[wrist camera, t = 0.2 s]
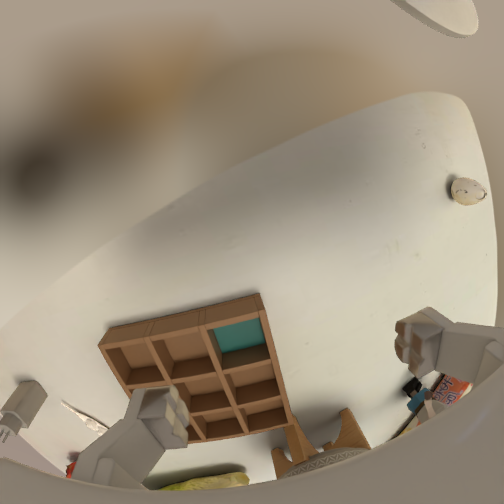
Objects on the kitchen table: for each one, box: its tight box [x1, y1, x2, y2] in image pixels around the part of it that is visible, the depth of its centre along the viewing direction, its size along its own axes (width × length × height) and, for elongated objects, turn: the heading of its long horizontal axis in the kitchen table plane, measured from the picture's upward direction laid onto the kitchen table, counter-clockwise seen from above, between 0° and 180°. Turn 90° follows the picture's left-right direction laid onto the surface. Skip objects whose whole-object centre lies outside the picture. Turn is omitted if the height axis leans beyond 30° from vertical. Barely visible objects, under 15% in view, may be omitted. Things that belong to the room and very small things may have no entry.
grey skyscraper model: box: [0, 381, 47, 443], centre depth 20 cm, size 3×5×12 cm, turn 108°
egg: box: [451, 177, 487, 205], centre depth 22 cm, size 3×3×5 cm
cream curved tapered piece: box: [62, 403, 108, 436], centre depth 28 cm, size 15×4×2 cm, turn 26°
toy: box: [403, 377, 448, 424], centre depth 25 cm, size 9×6×15 cm
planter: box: [271, 408, 371, 479], centre depth 23 cm, size 13×13×18 cm
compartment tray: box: [98, 293, 294, 444], centre depth 25 cm, size 16×16×3 cm
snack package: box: [399, 374, 473, 436], centre depth 31 cm, size 21×7×7 cm, turn 160°
